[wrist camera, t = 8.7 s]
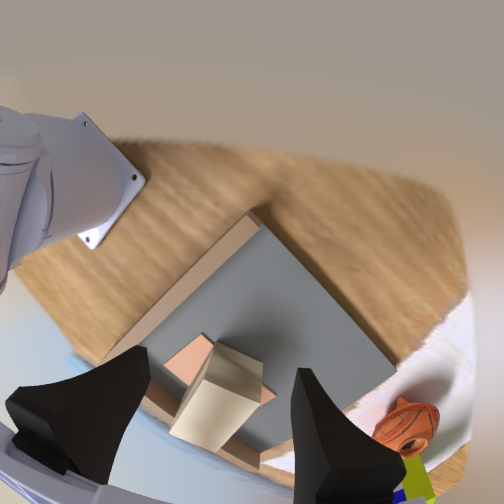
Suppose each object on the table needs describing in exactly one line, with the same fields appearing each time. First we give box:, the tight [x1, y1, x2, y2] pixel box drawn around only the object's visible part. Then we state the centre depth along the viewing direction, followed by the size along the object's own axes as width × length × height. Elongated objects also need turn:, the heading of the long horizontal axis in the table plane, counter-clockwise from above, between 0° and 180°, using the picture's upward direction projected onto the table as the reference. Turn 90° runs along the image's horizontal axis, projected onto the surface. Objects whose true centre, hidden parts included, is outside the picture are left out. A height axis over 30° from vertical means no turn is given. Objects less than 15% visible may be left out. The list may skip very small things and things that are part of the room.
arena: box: [98, 209, 397, 472], centre depth 23 cm, size 20×19×3 cm
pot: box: [372, 397, 440, 459], centre depth 23 cm, size 8×8×7 cm
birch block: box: [169, 341, 263, 453], centre depth 22 cm, size 4×8×5 cm, turn 152°
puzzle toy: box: [392, 454, 436, 504], centre depth 24 cm, size 10×10×10 cm
